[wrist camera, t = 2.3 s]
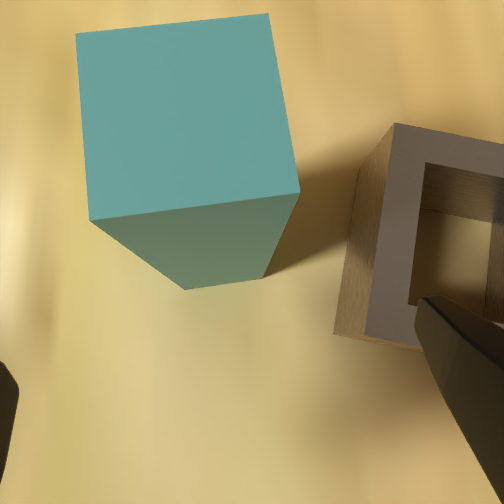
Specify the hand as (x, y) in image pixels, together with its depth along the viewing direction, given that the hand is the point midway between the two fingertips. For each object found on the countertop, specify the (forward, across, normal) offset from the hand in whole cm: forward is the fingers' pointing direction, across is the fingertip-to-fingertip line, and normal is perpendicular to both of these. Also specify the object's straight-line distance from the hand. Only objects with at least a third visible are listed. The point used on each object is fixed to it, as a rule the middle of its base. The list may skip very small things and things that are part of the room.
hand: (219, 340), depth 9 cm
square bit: (+11, 0, +5) cm, 12 cm away
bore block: (+9, -11, +7) cm, 16 cm away
